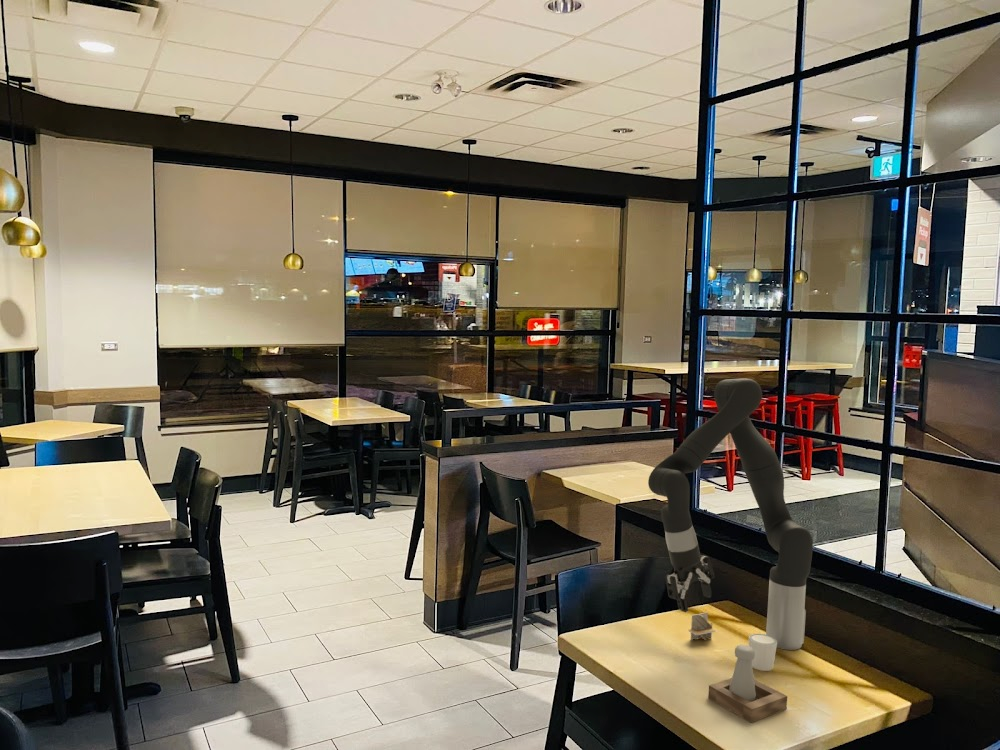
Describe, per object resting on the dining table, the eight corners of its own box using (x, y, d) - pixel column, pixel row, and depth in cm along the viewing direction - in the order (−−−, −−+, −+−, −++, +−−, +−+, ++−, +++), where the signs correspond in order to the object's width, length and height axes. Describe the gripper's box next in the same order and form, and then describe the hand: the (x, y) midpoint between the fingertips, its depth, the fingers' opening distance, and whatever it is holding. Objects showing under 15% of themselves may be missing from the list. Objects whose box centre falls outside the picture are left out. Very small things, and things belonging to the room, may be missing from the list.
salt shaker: (756, 710, 166) (760, 654, 165) (730, 707, 167) (733, 651, 166) (752, 698, 171) (756, 643, 170) (727, 694, 172) (730, 640, 171)
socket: (743, 685, 177) (743, 673, 177) (786, 708, 167) (787, 695, 167) (708, 698, 170) (708, 685, 170) (751, 722, 160) (752, 709, 160)
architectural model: (715, 643, 202) (716, 616, 201) (695, 647, 199) (697, 620, 198) (706, 638, 205) (708, 612, 204) (686, 642, 202) (688, 615, 201)
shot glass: (776, 663, 190) (778, 636, 189) (774, 674, 184) (776, 646, 183) (748, 657, 193) (750, 631, 192) (745, 668, 186) (747, 641, 186)
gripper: (691, 531, 195) (704, 589, 196) (651, 552, 188) (665, 612, 189) (712, 536, 188) (726, 595, 190) (672, 558, 181) (687, 619, 183)
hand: (696, 603), depth 190 cm, fingers open, 8 cm apart
